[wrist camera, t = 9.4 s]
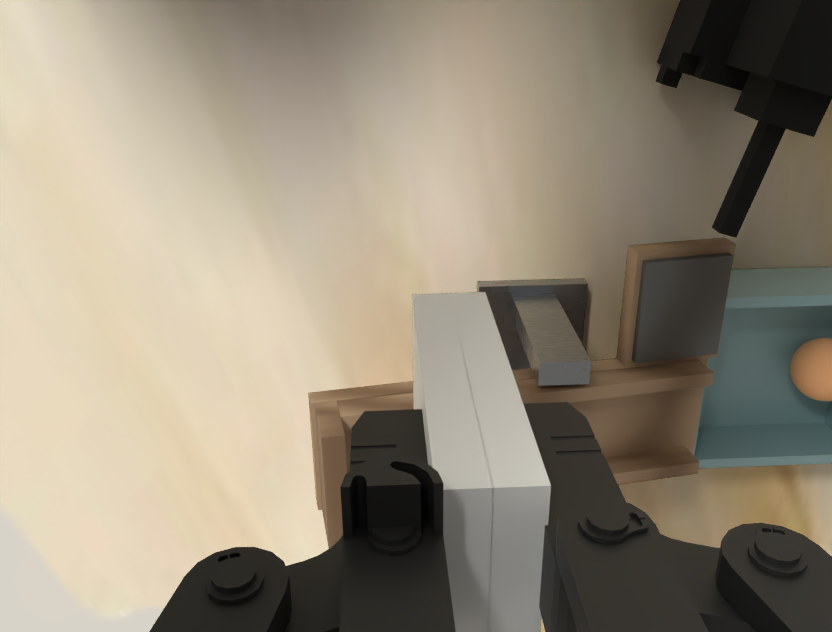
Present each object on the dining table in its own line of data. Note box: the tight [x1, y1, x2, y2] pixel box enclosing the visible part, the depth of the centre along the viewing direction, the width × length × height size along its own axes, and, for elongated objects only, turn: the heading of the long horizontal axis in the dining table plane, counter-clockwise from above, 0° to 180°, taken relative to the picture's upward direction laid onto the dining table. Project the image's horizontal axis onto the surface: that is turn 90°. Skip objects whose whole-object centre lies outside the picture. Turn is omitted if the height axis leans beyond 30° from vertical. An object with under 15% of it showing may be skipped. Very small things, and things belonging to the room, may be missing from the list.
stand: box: [477, 279, 591, 386], centre depth 43 cm, size 6×10×9 cm, turn 1°
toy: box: [656, 0, 832, 237], centre depth 36 cm, size 8×14×10 cm, turn 165°
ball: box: [790, 338, 832, 401], centre depth 45 cm, size 4×4×4 cm
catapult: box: [308, 238, 736, 549], centre depth 37 cm, size 20×12×4 cm, turn 92°
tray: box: [693, 267, 832, 468], centre depth 45 cm, size 11×11×6 cm
